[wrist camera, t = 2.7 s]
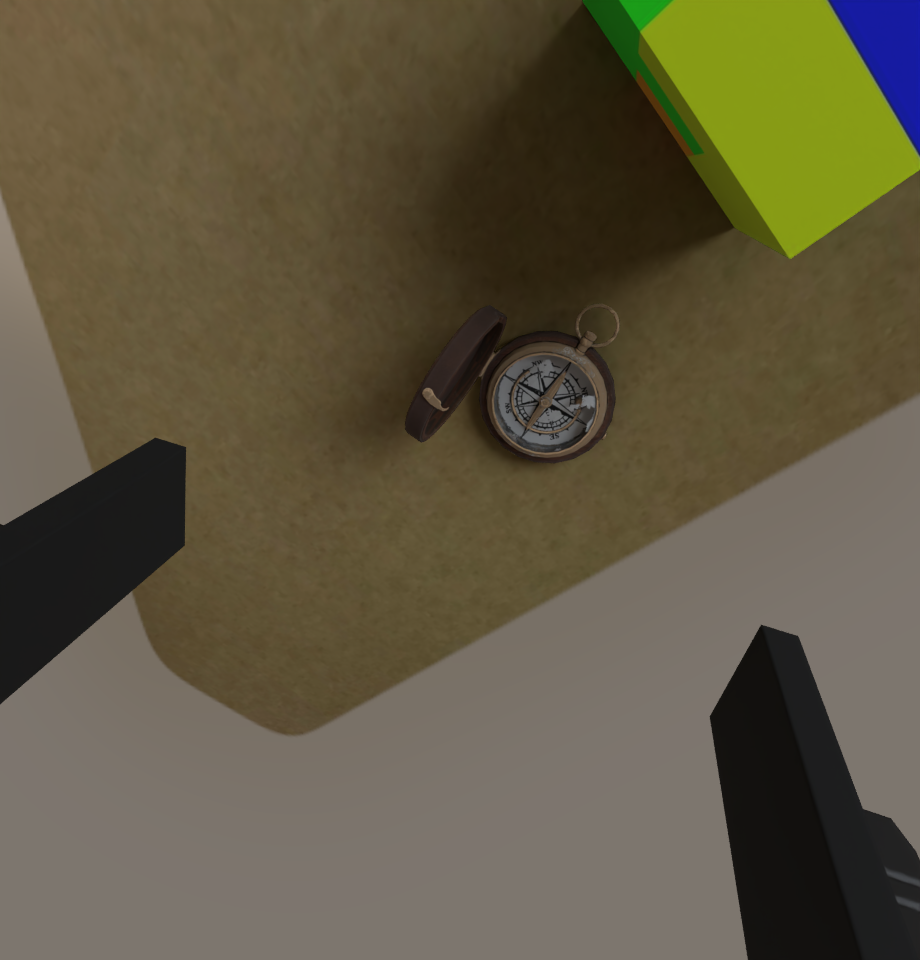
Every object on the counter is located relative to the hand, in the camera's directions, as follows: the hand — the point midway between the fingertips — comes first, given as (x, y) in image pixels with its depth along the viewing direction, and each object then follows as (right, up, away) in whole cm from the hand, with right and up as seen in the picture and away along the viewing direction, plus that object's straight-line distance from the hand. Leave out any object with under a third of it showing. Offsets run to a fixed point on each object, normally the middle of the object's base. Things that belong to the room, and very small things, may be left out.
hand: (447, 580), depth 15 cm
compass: (+4, +7, +15) cm, 18 cm away
